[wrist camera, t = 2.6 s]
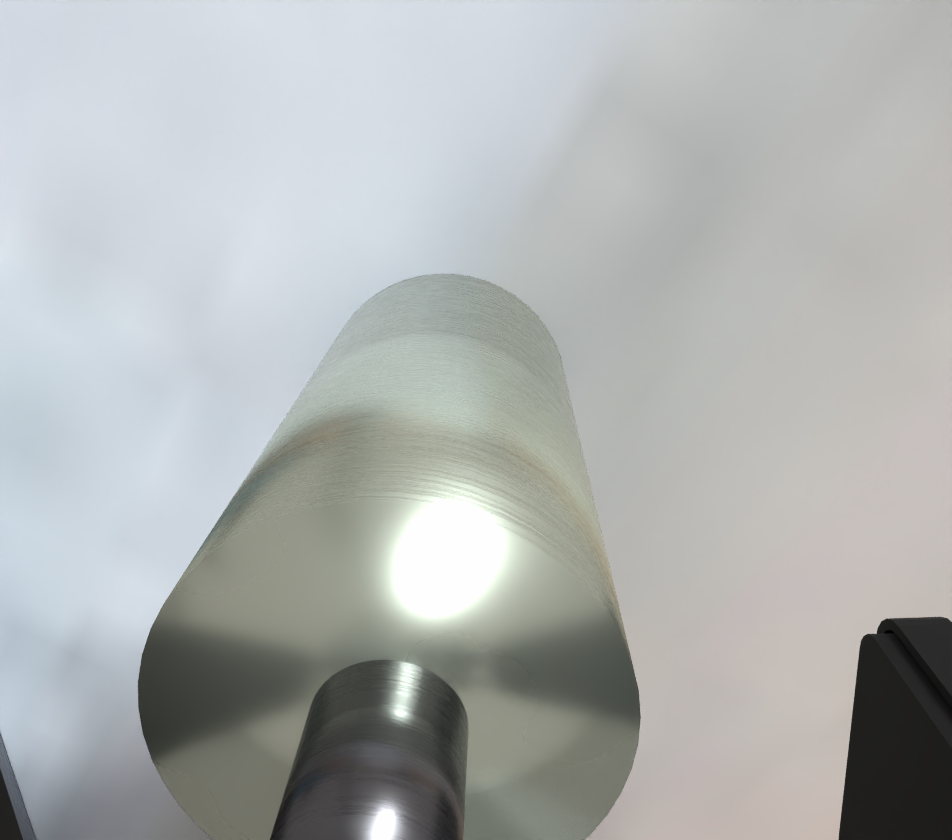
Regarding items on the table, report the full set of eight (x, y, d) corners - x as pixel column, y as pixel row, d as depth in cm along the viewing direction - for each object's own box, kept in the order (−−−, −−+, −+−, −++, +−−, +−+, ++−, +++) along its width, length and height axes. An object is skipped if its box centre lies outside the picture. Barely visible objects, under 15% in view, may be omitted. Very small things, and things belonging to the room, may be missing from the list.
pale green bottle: (312, 281, 17) (-47, 651, 6) (562, 266, 17) (692, 624, 6) (342, 503, 19) (113, 1114, 8) (567, 493, 19) (674, 1107, 7)
